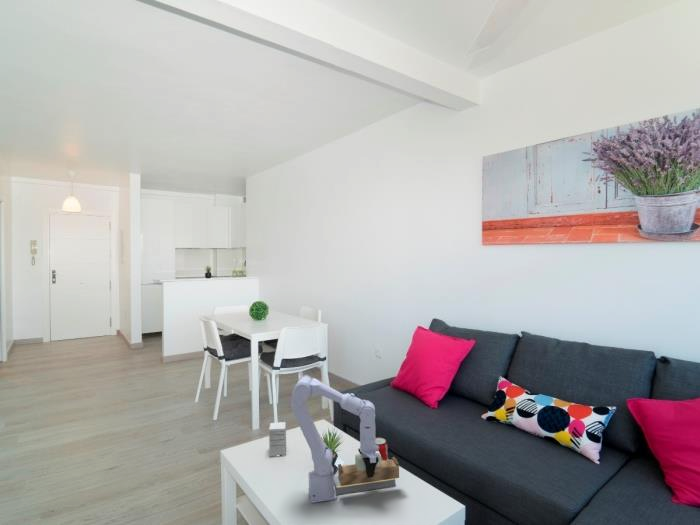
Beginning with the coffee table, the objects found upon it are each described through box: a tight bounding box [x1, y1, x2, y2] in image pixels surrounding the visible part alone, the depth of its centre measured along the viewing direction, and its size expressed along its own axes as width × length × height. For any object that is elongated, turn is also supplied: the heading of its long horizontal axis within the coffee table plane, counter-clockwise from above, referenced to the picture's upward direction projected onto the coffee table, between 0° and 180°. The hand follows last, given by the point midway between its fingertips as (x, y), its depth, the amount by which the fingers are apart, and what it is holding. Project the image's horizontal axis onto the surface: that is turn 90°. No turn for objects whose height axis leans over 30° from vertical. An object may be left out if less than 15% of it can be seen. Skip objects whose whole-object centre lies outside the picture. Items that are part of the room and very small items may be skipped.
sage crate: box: [354, 453, 367, 471], centre depth 140 cm, size 4×4×4 cm
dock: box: [334, 475, 396, 496], centre depth 148 cm, size 23×8×3 cm, turn 102°
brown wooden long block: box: [337, 456, 400, 486], centre depth 141 cm, size 22×5×5 cm, turn 102°
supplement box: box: [268, 421, 287, 457], centre depth 175 cm, size 7×7×13 cm
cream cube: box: [375, 451, 381, 468], centre depth 142 cm, size 4×4×4 cm
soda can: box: [376, 437, 389, 461], centre depth 159 cm, size 7×7×12 cm
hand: (368, 472), depth 141 cm, fingers closed on brown wooden long block, 5 cm apart
